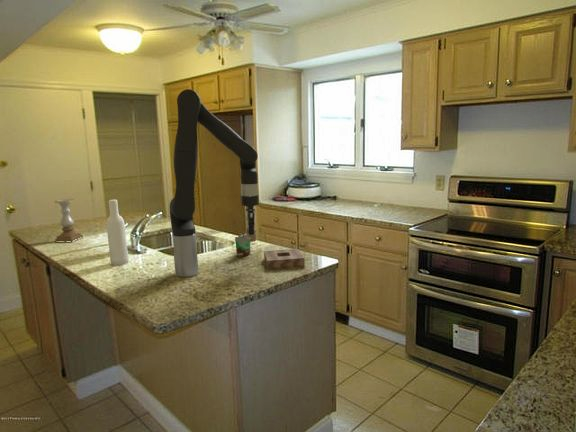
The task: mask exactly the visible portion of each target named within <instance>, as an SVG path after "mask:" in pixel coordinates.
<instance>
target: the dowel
mask: <svg viewBox="0 0 576 432" xmlns="http://www.w3.org/2000/svg"><path fill="white" fill-rule="evenodd" d="M245 223H246V226H245V227H246V228H245V229H246V231H245V232H247V241H248V242H250V243H253V242H256V241H257V233H256V232H257V230H256V229H257V228H256V226H257V225H256V219H255V220H254V223H255V225H254V235H249V226H248V221H247V214H246V213H245ZM250 223H253V221H250Z"/></svg>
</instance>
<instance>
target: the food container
mask: <svg viewBox="0 0 576 432" xmlns="http://www.w3.org/2000/svg"><path fill="white" fill-rule="evenodd" d="M234 242H235V248H236V249H235V251H236V257H237V258H240V257H241V258H242V257H247V256H249V255H251V242H248V241H247V232H246V231H242V233H241V234H239V235H238V236H235V237H234Z"/></svg>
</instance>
